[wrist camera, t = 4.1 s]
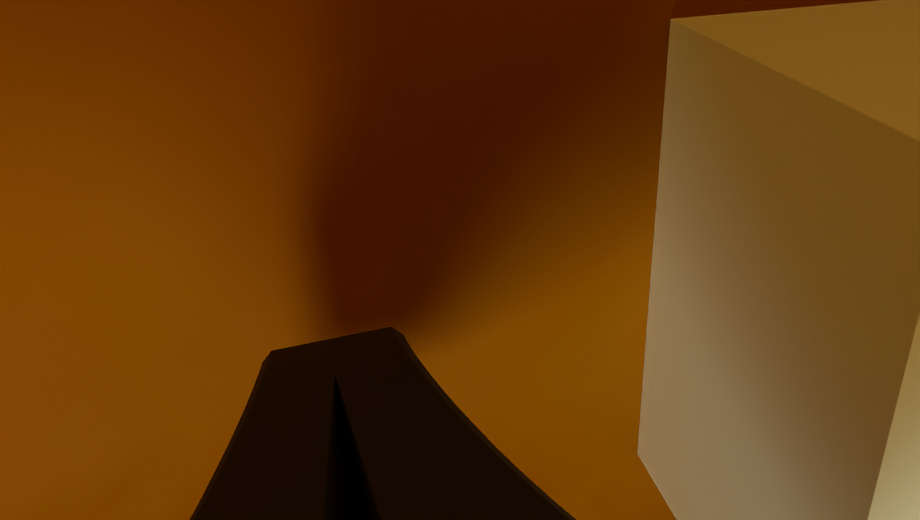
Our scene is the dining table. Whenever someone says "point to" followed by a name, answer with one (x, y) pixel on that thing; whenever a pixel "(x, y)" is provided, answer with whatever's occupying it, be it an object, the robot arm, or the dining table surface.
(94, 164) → the dining table surface
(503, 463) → the robot arm
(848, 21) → the block
